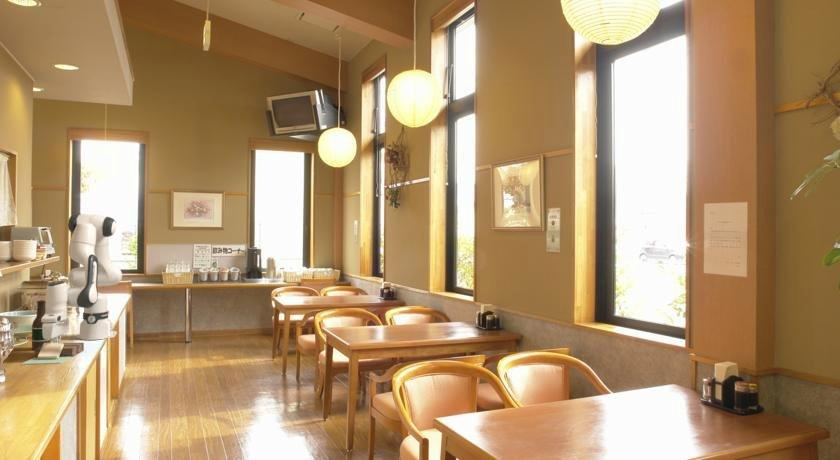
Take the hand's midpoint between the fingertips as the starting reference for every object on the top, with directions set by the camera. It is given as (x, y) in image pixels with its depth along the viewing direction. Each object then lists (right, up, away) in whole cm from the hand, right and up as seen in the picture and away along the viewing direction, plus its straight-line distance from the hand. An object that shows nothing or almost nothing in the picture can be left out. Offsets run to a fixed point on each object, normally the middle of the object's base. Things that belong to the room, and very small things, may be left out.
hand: (56, 345), depth 278 cm
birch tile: (+1, -2, -5) cm, 5 cm away
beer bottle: (-17, -5, +15) cm, 23 cm away
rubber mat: (+1, -5, -9) cm, 11 cm away
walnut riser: (-1, -5, +4) cm, 6 cm away
